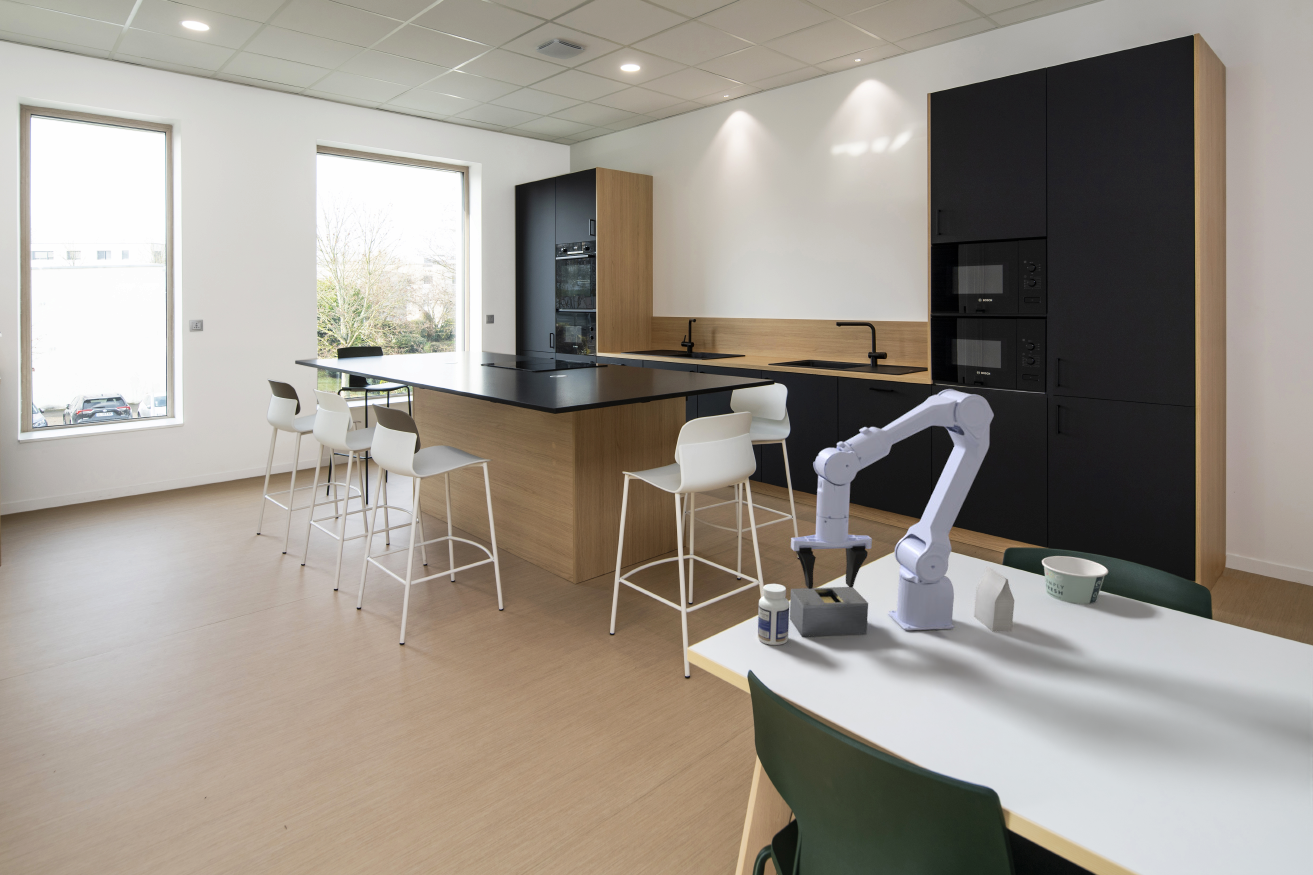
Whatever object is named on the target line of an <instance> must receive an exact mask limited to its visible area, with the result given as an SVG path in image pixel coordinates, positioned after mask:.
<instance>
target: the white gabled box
mask: <svg viewBox="0 0 1313 875" xmlns="http://www.w3.org/2000/svg"><path fill="white" fill-rule="evenodd" d="M975 588H976V589H975V599H974V600H975V601H974V612H973V613H974V614H973V617H974V618H975V619H976V620H977V621H979V622H980V623H981V624H982V625H984V626H985V627H986V628H987V629H988V630H990V631H991V632H1012V629H1013V621H1014V608H1015V599H1014V598H1015V597H1014V596H1013V593H1012V590H1011V587H1010V584H1009V579H1008V578H1007V577H1005V576H1003V575H1001V574H1000V573H999V572H997V570H995V569H993V568H992V567H990V566H988V567H987V566H986V568H985V570H984V573H983V575H982V577H981V579H980V580H979V583H978V584H977V586H976V587H975Z"/></svg>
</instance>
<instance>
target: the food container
mask: <svg viewBox="0 0 1313 875" xmlns="http://www.w3.org/2000/svg"><path fill="white" fill-rule="evenodd" d="M1041 564H1042V566H1043V569H1044V570H1043V571H1044V580H1045V590H1046V594H1047V595H1048V596H1049V597H1051V598H1053V599H1055V600H1058V601H1061V602H1065V603H1070V604H1077V605H1090V604H1094V603H1096V602H1097V600H1098V598H1099V596H1100V592H1101V589H1102V586H1103V582H1104V579H1105V576H1106V575H1108V573H1109V569H1108V568H1106V567H1105V566H1104V565H1103V564H1101V563H1098V562H1096V561H1093V560H1089V559H1086V558H1081V557H1073V556H1061V555H1055V556H1053V555H1052V556H1048V557H1045V558H1043V559H1042V560H1041Z"/></svg>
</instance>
